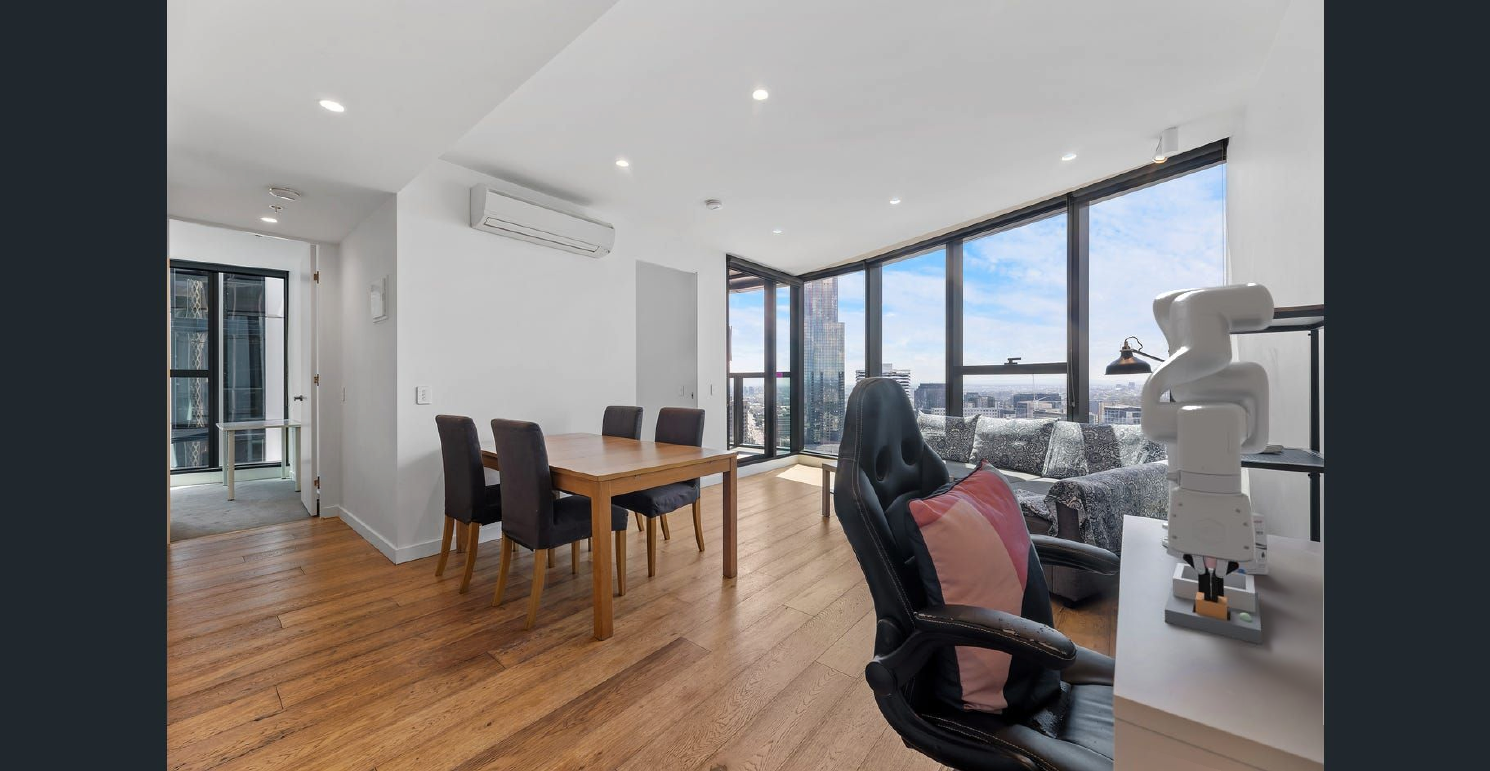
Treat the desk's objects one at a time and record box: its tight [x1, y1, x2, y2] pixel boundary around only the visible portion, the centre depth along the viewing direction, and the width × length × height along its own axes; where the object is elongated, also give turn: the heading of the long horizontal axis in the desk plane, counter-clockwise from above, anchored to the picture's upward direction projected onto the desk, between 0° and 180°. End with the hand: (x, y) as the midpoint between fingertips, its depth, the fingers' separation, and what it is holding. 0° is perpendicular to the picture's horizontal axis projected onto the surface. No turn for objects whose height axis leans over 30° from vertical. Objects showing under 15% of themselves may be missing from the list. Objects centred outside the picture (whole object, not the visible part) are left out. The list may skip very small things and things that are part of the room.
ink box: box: [1238, 511, 1269, 575], centre depth 104 cm, size 9×5×12 cm, turn 84°
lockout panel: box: [1164, 562, 1262, 645], centre depth 86 cm, size 18×11×5 cm, turn 136°
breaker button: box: [1195, 592, 1227, 620], centre depth 82 cm, size 4×4×3 cm
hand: (1211, 598), depth 82 cm, fingers closed
